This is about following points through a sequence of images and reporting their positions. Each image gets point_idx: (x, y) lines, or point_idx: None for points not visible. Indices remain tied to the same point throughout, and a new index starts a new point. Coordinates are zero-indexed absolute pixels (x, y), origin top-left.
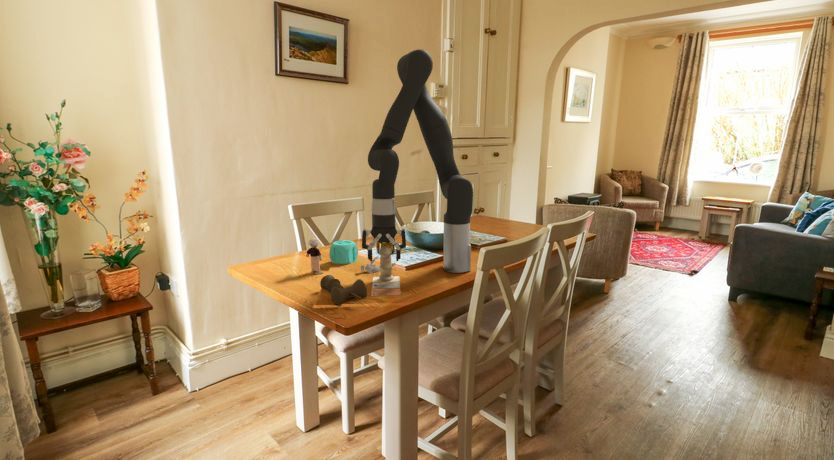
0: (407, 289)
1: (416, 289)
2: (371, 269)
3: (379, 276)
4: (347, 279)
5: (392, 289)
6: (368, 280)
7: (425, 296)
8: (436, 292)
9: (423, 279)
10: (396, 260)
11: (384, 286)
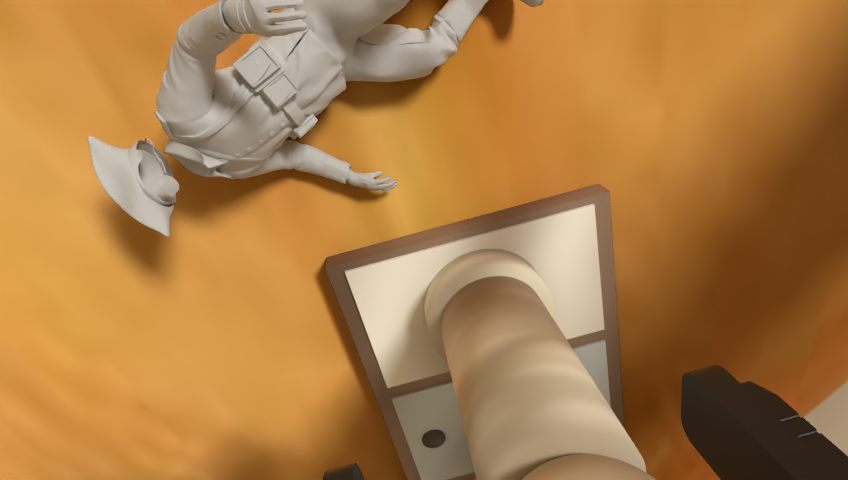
0: (650, 392)
1: None
2: (266, 157)
3: (433, 345)
4: (98, 302)
5: None
6: (311, 289)
7: None
8: (823, 395)
9: (793, 176)
10: (691, 440)
11: None
